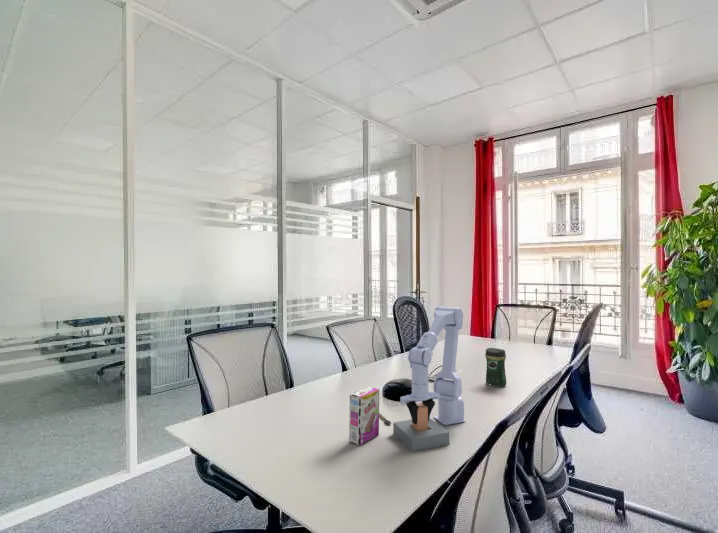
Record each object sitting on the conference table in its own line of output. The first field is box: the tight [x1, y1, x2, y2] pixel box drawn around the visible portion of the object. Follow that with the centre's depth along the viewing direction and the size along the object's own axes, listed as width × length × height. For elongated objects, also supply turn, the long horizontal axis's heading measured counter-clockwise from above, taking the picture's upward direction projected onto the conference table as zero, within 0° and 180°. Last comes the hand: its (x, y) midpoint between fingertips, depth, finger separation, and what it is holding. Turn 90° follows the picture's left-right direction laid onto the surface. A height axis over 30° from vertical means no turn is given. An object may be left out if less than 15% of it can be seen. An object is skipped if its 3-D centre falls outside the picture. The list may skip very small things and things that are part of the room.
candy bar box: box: [348, 386, 380, 447], centre depth 126 cm, size 11×5×16 cm, turn 141°
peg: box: [412, 402, 428, 432], centre depth 126 cm, size 4×4×9 cm
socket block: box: [392, 417, 450, 452], centre depth 126 cm, size 14×14×4 cm
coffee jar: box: [484, 347, 507, 388], centre depth 186 cm, size 10×8×19 cm
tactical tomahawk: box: [379, 412, 392, 425], centre depth 146 cm, size 21×7×1 cm, turn 17°
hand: (420, 422), depth 126 cm, fingers closed on peg, 4 cm apart
